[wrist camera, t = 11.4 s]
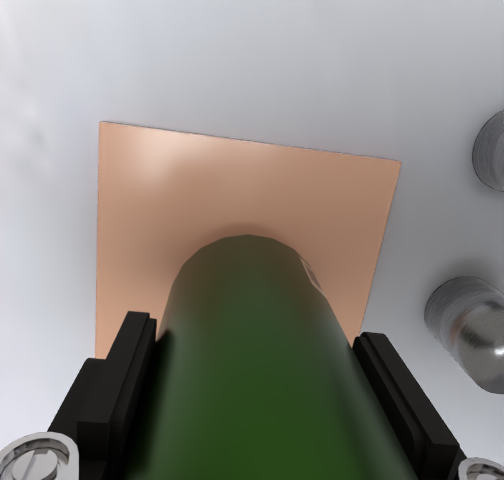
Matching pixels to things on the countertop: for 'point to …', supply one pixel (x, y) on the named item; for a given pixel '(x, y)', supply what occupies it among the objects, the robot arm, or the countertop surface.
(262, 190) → the terracotta tile
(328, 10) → the countertop surface
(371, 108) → the countertop surface
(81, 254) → the countertop surface
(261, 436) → the beer can
